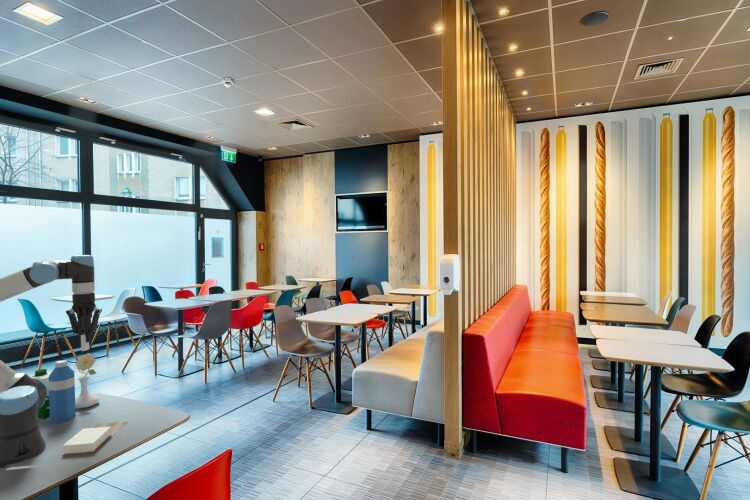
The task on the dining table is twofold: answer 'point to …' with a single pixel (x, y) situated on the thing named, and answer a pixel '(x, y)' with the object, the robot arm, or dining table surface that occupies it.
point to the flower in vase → (85, 382)
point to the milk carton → (45, 408)
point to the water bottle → (61, 393)
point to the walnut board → (114, 429)
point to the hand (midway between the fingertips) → (85, 349)
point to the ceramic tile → (86, 440)
